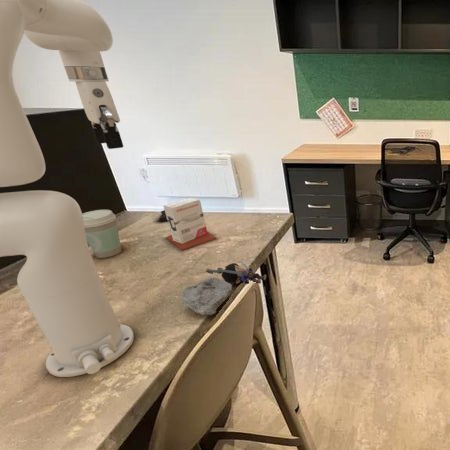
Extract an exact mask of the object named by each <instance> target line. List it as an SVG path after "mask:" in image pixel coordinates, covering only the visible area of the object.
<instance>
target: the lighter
mask: <svg viewBox="0 0 450 450" xmlns="http://www.w3.org/2000/svg"><path fill="white" fill-rule="evenodd" d="M160 213H161V215H160V216H159V217H157V218H156V222H160V223H163V222H166V221H168V220H167V217H166V213H165V210H161V211H160Z"/></svg>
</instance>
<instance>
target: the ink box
mask: <svg viewBox="0 0 450 450" xmlns="http://www.w3.org/2000/svg"><path fill="white" fill-rule="evenodd" d="M163 209H164V210H165V213H166V217H167V220H166V221H167V224H168V228H169V231H170V234H171V235H172V238H173V241H176V242H178V243H181V244H184V243H186V242H188V241H191V240H193V239H196V238H198V237H201V236H203V235H206V234H207V232H208V228H207V225H206V219H205V215H204V212H203V206H202V203H201V200H200V199H197V198H194V197H187V198H184V199H181V200H178V201H174V202H171V203H167V204H164V205H163Z"/></svg>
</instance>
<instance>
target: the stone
mask: <svg viewBox="0 0 450 450" xmlns="http://www.w3.org/2000/svg"><path fill="white" fill-rule="evenodd" d="M232 290H233V285H232V284H231V282H226V281H225V280H221V279H219V278H217V277H213V276H212V277H210V278H206V279H204V280H202V281H200V282H198V283H197V284H194V285H189V286H187V287H185V288H184V290H183V291H182V294H181V295H180V300H181V302H182V304H183V305H184V306H186V307H187V308H189V309H190V310H192V311H193V312H195V313H196V314H200V315H202V316H207V315H208V316H212V315H215V314H216V313H217V310H218V308H219V307H220V306H221V305H222V304H223V303H224V302H225V301H226V300H227V298H228V297H229V296H230V295H231V293H232Z"/></svg>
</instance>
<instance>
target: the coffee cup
mask: <svg viewBox="0 0 450 450" xmlns="http://www.w3.org/2000/svg"><path fill="white" fill-rule="evenodd" d="M82 216H83V222H84V229H85V235H86V240H87V244H88V246H89V247H90V248H91V251H92V252H93V254H94V256H95V257H96V258H99V259H104V258H105V259H106V258H110V257H114V256H117V255H119V254H120V253H121V252H122V250H123V249H122V245H121V240H120V235H119V229H118V224H117V220H116V219H117V216H116V214H115V213H113V211H112V210H110V209H95V210H90V211H86V212H82Z"/></svg>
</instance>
